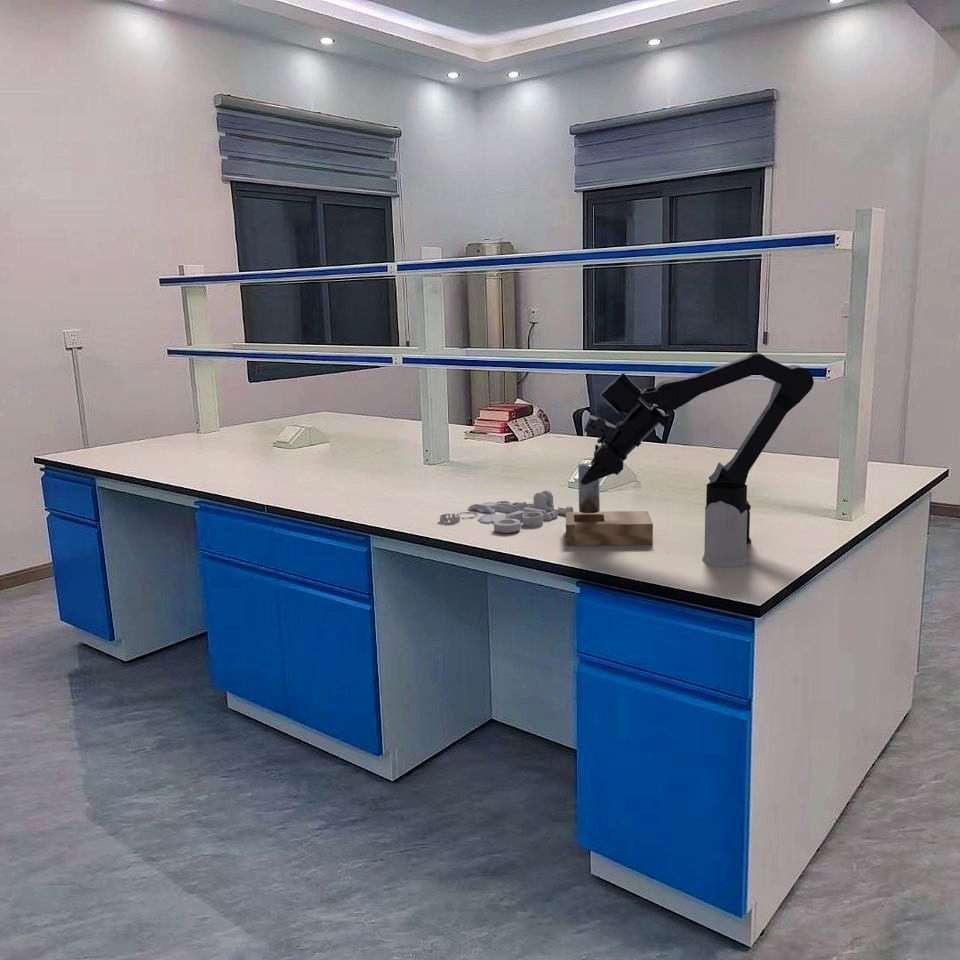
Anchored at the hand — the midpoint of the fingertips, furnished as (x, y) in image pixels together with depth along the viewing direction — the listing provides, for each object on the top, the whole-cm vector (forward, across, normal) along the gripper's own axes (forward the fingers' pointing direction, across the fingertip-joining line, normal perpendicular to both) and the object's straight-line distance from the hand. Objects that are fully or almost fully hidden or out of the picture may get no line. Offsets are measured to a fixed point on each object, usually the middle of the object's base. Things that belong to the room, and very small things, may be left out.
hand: (582, 480), depth 185 cm
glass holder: (-11, +12, +30) cm, 34 cm away
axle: (+4, 0, +6) cm, 7 cm away
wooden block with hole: (+5, 0, +13) cm, 14 cm away
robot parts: (+24, -18, -5) cm, 30 cm away
